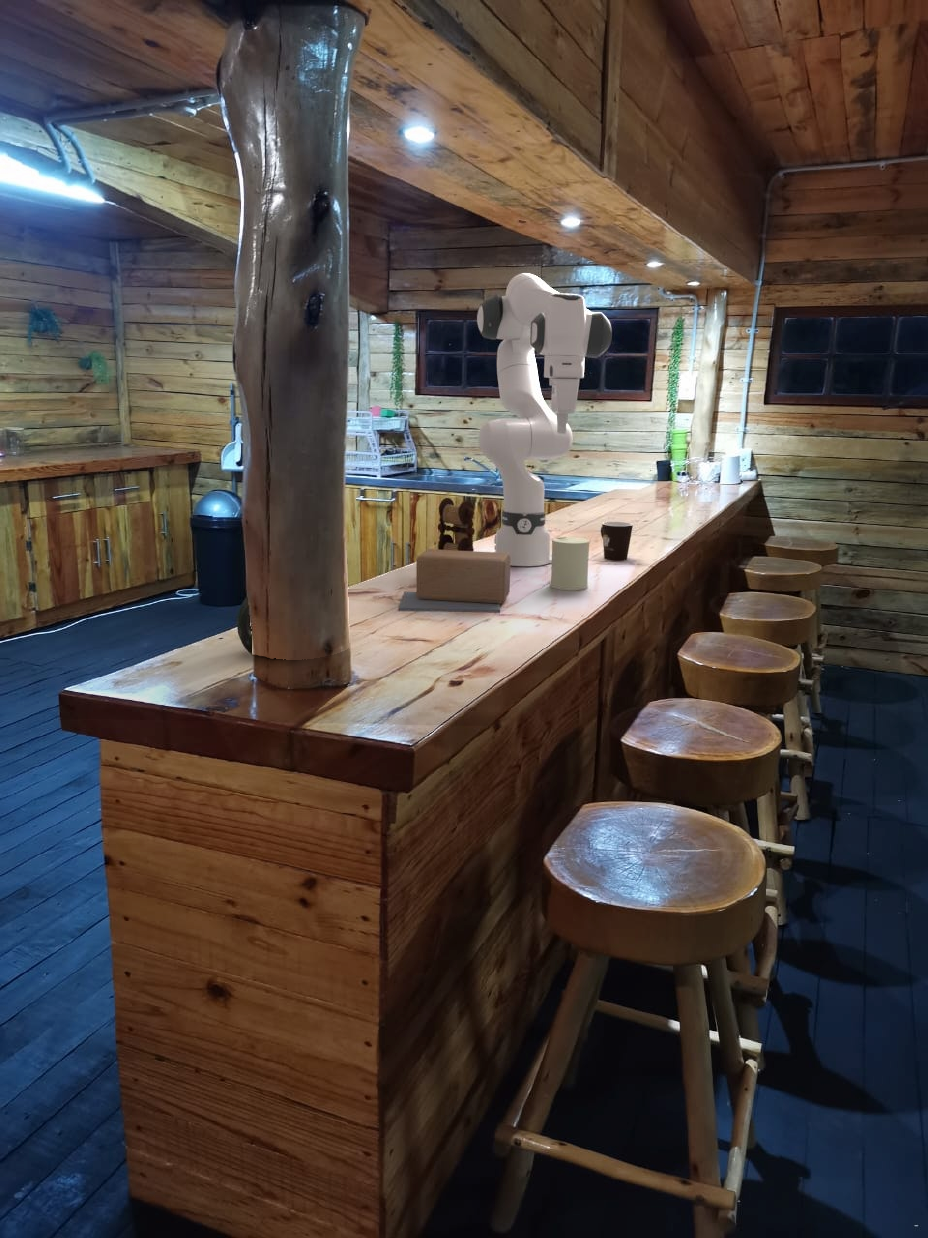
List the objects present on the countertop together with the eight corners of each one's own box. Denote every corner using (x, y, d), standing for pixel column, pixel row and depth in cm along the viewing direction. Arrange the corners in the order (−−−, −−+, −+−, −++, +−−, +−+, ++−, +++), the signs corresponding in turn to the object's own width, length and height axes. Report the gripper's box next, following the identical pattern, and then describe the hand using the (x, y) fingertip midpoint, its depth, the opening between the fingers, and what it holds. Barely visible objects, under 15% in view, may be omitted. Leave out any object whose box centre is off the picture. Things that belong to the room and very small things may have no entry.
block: (504, 560, 194) (415, 556, 198) (503, 605, 197) (415, 599, 200) (511, 552, 204) (425, 548, 207) (510, 595, 206) (425, 590, 210)
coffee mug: (633, 561, 251) (635, 526, 248) (602, 561, 251) (604, 526, 248) (626, 554, 262) (628, 520, 260) (597, 553, 262) (598, 519, 260)
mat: (404, 593, 209) (404, 591, 209) (498, 595, 208) (498, 592, 208) (398, 610, 193) (398, 607, 193) (500, 612, 193) (500, 609, 193)
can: (566, 580, 225) (568, 533, 222) (595, 586, 219) (597, 538, 216) (542, 586, 219) (543, 537, 216) (571, 592, 213) (573, 542, 210)
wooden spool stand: (496, 577, 228) (498, 499, 222) (457, 586, 217) (458, 504, 212) (453, 569, 237) (454, 494, 232) (414, 577, 226) (414, 498, 221)
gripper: (546, 370, 208) (544, 430, 212) (553, 368, 189) (551, 435, 192) (573, 370, 208) (570, 431, 212) (583, 369, 189) (580, 436, 192)
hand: (561, 433), depth 202 cm, fingers closed
